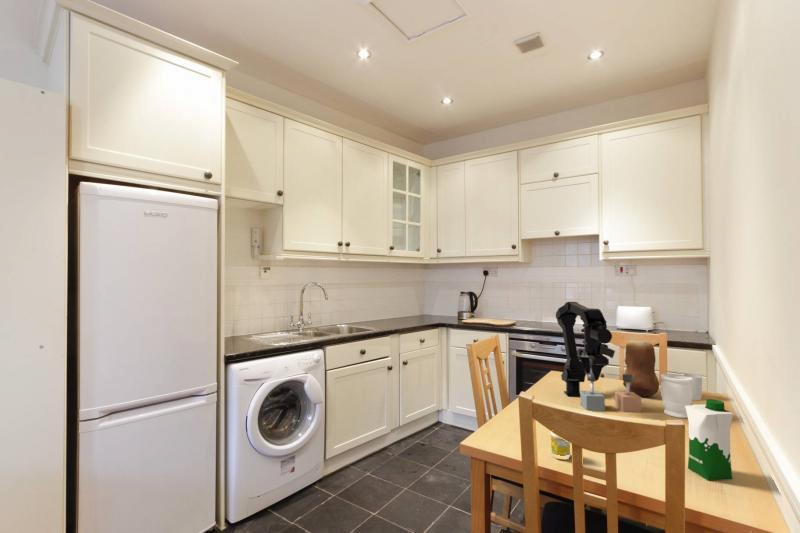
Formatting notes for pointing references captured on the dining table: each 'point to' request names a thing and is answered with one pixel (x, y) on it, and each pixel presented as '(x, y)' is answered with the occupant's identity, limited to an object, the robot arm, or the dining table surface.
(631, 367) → the butternut squash
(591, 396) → the slate bottle
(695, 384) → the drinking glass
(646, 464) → the dining table surface
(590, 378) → the slate pump
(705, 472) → the milk carton
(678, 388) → the jar
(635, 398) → the pink block with hole
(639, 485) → the dining table surface
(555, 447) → the supplement bottle
